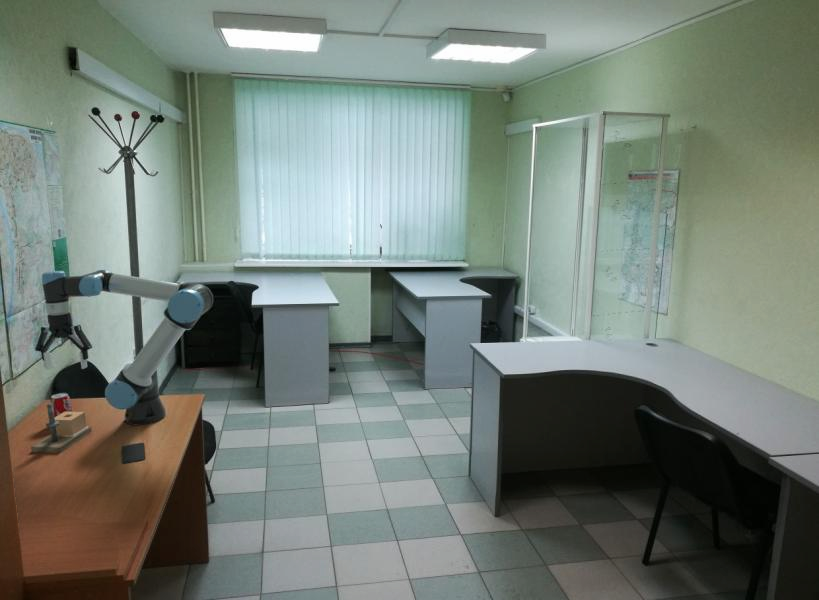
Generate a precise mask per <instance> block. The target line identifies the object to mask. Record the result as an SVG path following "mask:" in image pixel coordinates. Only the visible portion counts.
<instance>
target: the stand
mask: <svg viewBox="0 0 819 600" xmlns="http://www.w3.org/2000/svg"><path fill="white" fill-rule="evenodd" d="M46 408H47V416H48V422H46V423H45V427H46V428H48V429H50V434H49V435H48V436H46V437H44V438H43V439H41V440H40V441H38V442H36V443H35V444H33V445H31V446H30V449H31V450H30V451H31V453H51V452H52V453H53V454H54V453H56V452H57V454H59V453H62V452H64V451H66V450H67V449H69V448H71V446H73V445H75V444H76V443H77V442H80V441H81V440H82V439H84V438H85V437H87V436H89V433H90V432H91V433H92V432H93V431H92V427H91V426H87V425H86V426H87V427H86V428H84V429H83V430H81V431H79V432H78V433H76V434H75V435H57V431H56V426H58V425H59V421H55V417H54V409H53V404H50V403H47V404H46ZM91 433H90V434H91ZM86 435H87V436H86ZM84 436H85V437H84ZM83 437H84V438H83ZM80 439H81V440H80Z"/></svg>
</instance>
